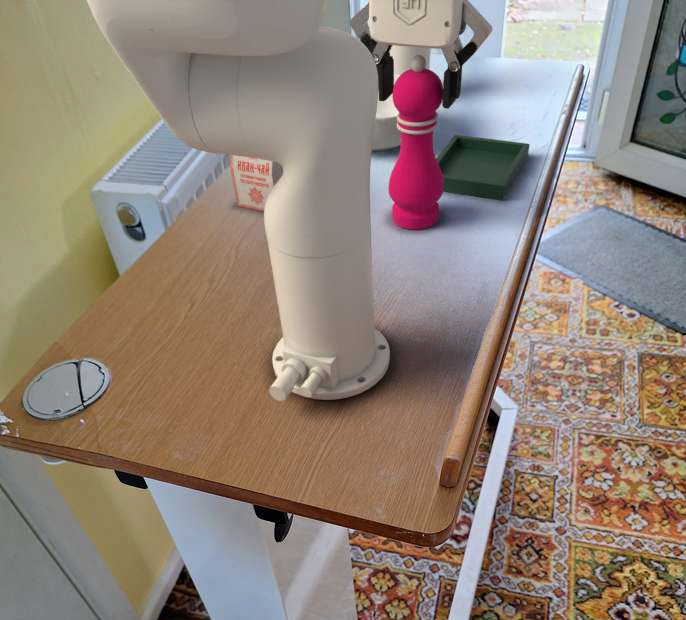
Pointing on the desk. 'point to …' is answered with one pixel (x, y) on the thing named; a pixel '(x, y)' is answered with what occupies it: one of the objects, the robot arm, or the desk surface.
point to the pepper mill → (416, 148)
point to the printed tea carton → (253, 180)
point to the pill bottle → (407, 57)
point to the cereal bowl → (386, 125)
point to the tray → (481, 165)
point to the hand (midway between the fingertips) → (417, 99)
